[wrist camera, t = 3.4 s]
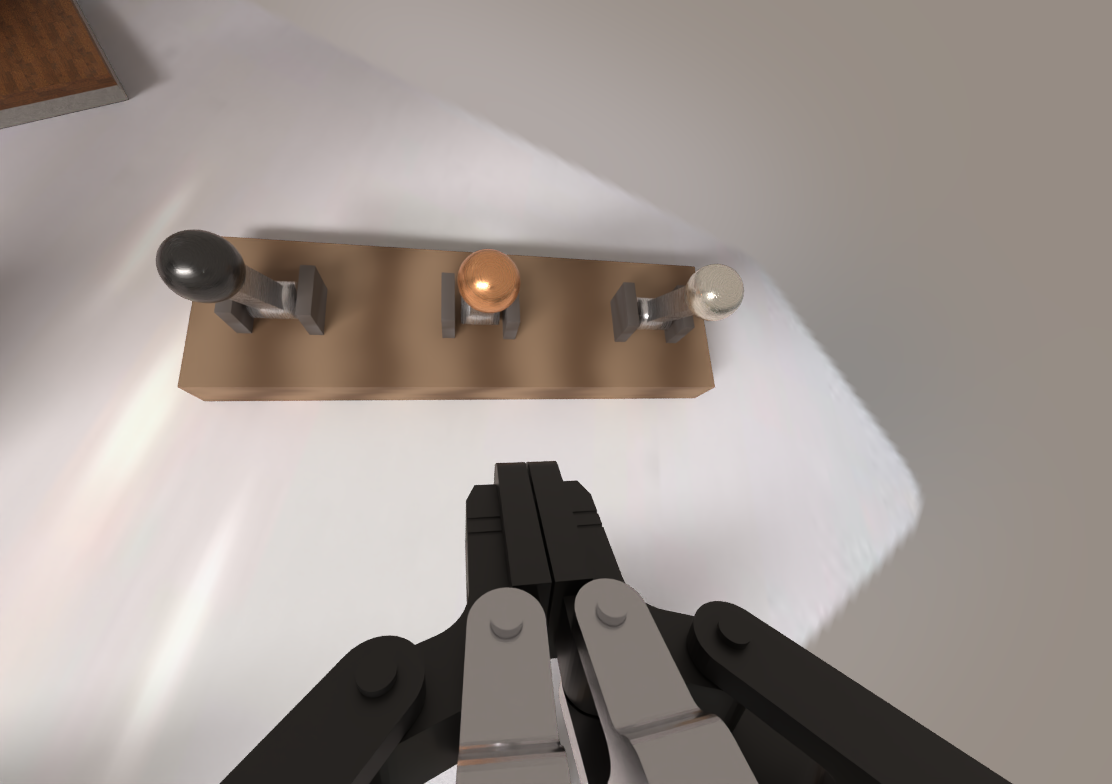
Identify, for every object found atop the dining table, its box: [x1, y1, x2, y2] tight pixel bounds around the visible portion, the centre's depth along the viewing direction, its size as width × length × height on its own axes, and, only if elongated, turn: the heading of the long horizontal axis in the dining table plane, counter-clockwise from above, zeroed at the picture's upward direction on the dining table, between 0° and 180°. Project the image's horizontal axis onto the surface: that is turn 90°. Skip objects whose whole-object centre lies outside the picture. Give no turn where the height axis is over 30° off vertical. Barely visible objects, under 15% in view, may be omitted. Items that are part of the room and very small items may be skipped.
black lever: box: [156, 230, 298, 319], centre depth 23 cm, size 3×3×11 cm
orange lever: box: [457, 249, 520, 325], centre depth 26 cm, size 3×3×11 cm
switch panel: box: [178, 236, 715, 401], centre depth 31 cm, size 34×10×6 cm, turn 93°
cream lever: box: [636, 264, 744, 330], centre depth 28 cm, size 3×3×11 cm
